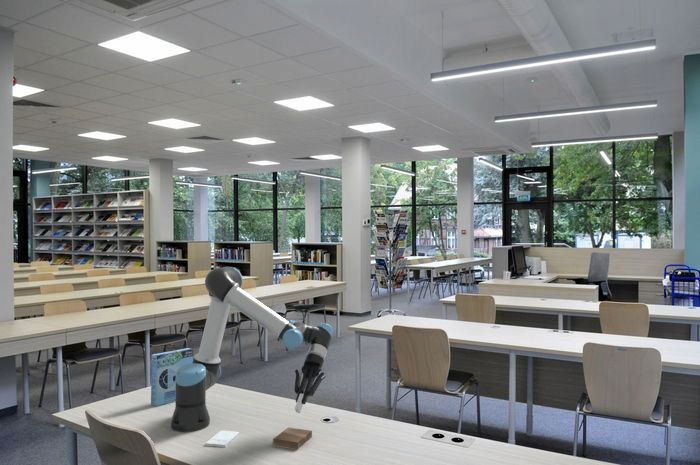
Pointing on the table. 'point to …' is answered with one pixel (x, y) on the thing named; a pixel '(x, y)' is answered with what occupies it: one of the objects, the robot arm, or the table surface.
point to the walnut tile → (292, 438)
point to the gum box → (167, 374)
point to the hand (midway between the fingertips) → (297, 411)
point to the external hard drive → (222, 438)
